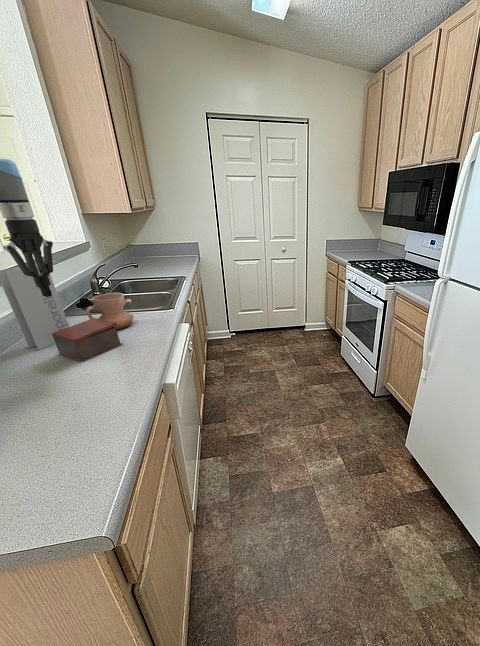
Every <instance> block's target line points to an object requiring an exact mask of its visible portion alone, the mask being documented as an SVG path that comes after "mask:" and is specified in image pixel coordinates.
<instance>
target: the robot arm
mask: <svg viewBox="0 0 480 646" xmlns="http://www.w3.org/2000/svg"><path fill="white" fill-rule="evenodd" d="M0 214H1V216H2V218H3V219H6V220H5V221H4V224H5V227H6V229H7V232H8V234H9V236H10V237H9V241H10V242H9V243H8V244H7V245H4V246H2V247H3V249H4V250H5V251H6V252H8V253H9V254H10V256H11V257H12V258H13V260H14V262H15V263H16V264H17V267H20V269H21V270H22V272H23V273H24V275H26V276H31V277H33V279H34V282H35V284H36V286H37V287H40V290H41V292H42V295H43V296H45V297H50V296H52V294H51V291H50V288H49V285H51V283H50V280H49V277H48V276H49V273H50V274H51V273H53V272H54V264H53V263H54V262H53V251H52V248H53V245H54V243H53V241H51V240H47V239H45V238H44V237H43V235H42V234H41V233H40V228H39V226H38V223H37V220H36V219H35V218H34V217H35V214H34V211H33V208H32V205H31V202H30V200H29V196H28V194H27V191H26V188H25V185H24V181H23V177H22V175H21V174H20V171H19V169H18V167H17V164H16V163H15V161H13V160H11V159H7V158H0ZM41 247H42V250H41ZM17 249H19V250H20V251H21V254H22V255H23V257H24V259H25V260H24V259H23V257H22V256H21V254H20V253H19V252H18V251H17ZM42 253H43V254H42ZM36 264H37V267H38V269H39V272H40V274H41V275H42V276H40V275H39V272H38V270H37V267H36ZM27 265H28V266H27Z"/></svg>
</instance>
